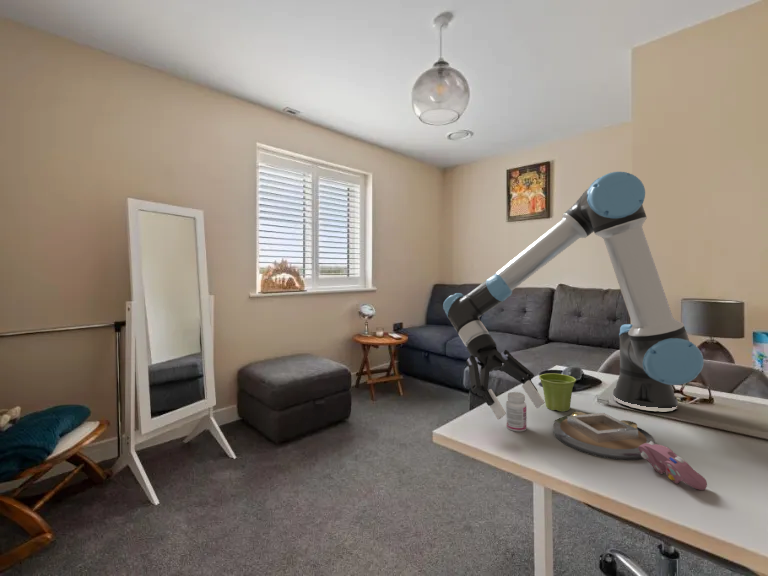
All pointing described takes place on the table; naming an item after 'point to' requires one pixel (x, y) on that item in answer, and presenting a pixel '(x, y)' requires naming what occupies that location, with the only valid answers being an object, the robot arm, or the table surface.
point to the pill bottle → (516, 412)
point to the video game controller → (671, 465)
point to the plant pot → (557, 390)
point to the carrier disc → (601, 435)
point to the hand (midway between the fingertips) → (522, 411)
